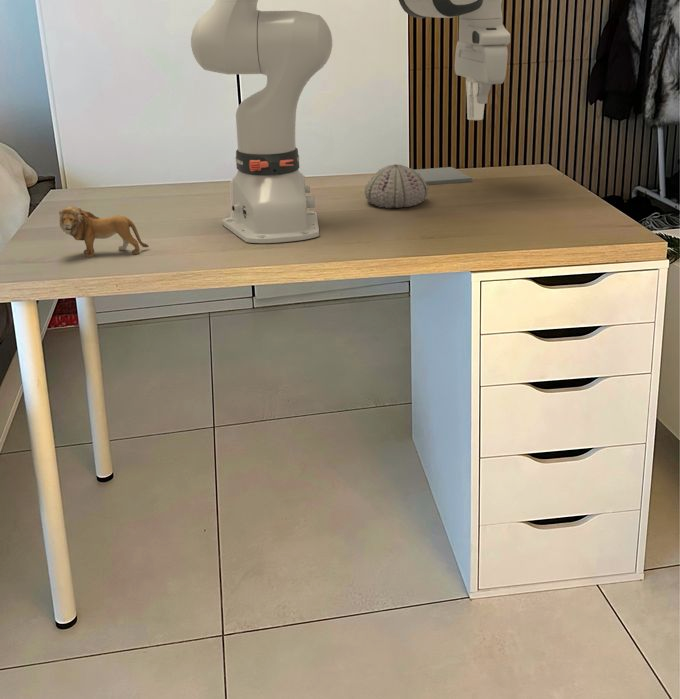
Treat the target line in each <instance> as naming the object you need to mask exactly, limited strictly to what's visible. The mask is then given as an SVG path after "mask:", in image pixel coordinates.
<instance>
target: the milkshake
mask: <svg viewBox="0 0 680 699" xmlns="http://www.w3.org/2000/svg"><path fill="white" fill-rule="evenodd" d="M465 87H466V88H465V90H466V114H467V115H466V116H467V117H466V119H467V120H469V121H482V120H484V113H485V112H484V111H485V104H480V103H478V102H477V95H479V90H480V87H479V81H476V80H474V79H473V78H472V77H470V76H469V77H468V78H467V79H466V78H465Z"/></svg>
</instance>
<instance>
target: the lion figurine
mask: <svg viewBox="0 0 680 699" xmlns="http://www.w3.org/2000/svg"><path fill="white" fill-rule="evenodd" d="M58 214H59V227H60V229H61V231H62V232H63V233H65V234H67V235H70V236H71V237H73V239H74V240H76V241H84V244H85V246H86V249H84V250H83V253H84V254H85V257H86V258H92V257H94V256H95V249H94V242H95V240H96V239H97V240H99V239H101V240H102V239H103V240H104V239H109V238H111V237H112V236H114V235H116V234H117V235H118V236H119V237H120V238H121V239H122V242H123V244H122V245H121V246H118V251H125V250H126V249H127V248H128V246H129V244H131V246H133V247H134V249H133V250H132V249H131V253H132V254H133V255H138V254H140V252H141V250H140V247H142V248H149V247H150V246H149V245H148V244H146V243H144V242H143V241H142V240H141V237H140V235H139V231H138V229H137V227H136V226H135V224H134V222H133V221H132V220H131V219H130V218H129V217H127V216H125V215H120V214H119V215H115V216H111V217H103V218H101V217H98V216H96V215H94V214H93V213H92V212H90V211H86V210H82V208H81V207H80V208H79V207H75V206H66V207H64V208H63V209H61V210H60V211H59V212H58ZM130 228H131V229H132V231H133V233H134V236H135V237H133V235H132V234H131V230H130ZM135 238H136V239H135ZM139 245H140V246H139Z"/></svg>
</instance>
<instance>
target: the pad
mask: <svg viewBox="0 0 680 699" xmlns="http://www.w3.org/2000/svg"><path fill="white" fill-rule="evenodd" d="M413 170H414V171H416V172H417V173H418V174H420V176H421V177H422V178H423V180H424V181H425V182H426V185H427V186H431V185H433V186H434V185H445V184H458V183H459V184H461V183H471V182H473V177H471V176H469V175H468V174H466V173H463V172H462V171H460V170H458V169H456V168H455V167H454V166H453V167H452V166H448V167H447V166H446V167H433V168H431V167H430V168H420V169H417V168H416V169H413ZM426 171H429V172H426Z"/></svg>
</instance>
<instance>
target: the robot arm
mask: <svg viewBox="0 0 680 699" xmlns="http://www.w3.org/2000/svg"><path fill="white" fill-rule="evenodd" d="M258 1H259V0H215V1H214V3H213V5H212V6H211V7H209V9H208V10H207V11H206V12H205V13H204V14H203V15H201V17H199V19H198V20H197V21H196V22H195V24H194V25H193V29H192V31H191V38H190V47H191V51H192V55H193V56H194V59H195V61H196V62H197V63H198V65H199V66H200V67H201V68H202V69H203V70H205V71H208V72H213V73H217V74H223V75H263V76H264V75H265V76H266V85H265V87H264V88H262V89H261V90H258V91H257V92H255V93H253V94H252V95H249V96H248V97H246V98H245V99H243V100H242V101H241V102H240V104H238V106H237V109H236V112H235V125H236V138H237V141H236V142H237V149H236V150H235V163H236V165H235V166H236V169H237V172H236V175H235V176H234V177H233V178H232V179H231V180H230V182H229V195H230V196H229V198H230V200H229V201H230V203H229V204H230V216H229V217H227V216H226V217H225V218H223V219H222V225H223V226H224V227H225V228H226V229H228V230H229V231H230V232H231V233H232V234H235V235H236V236H237V237H239V238H240V239H241V240H242V241H243V242H246V243H252V244H273V243H274V244H275V243H276V244H277V243H287V242H288V243H289V242H296V241H297V242H298V241H304V240H309V239H310V240H311V239H314V238H317V237H319V236H320V228H319V219H318V214H317V213H318V212H316V211H313V210H308V209H314V208H315V206H316V202H315V201H316V200H315V196H314V195H306V194H310V193H311V187H310V185H306V176H305V175H304V174H303V173H302V172H301V171H300V170H299V169H300V155H299V150H298V148H297V144H296V119H297V118H296V117H297V108H298V107H297V106H298V103H299V100H300V97H301V94H302V92H303V90H304V88H305V86H307V84H308V82H309V81H310V79H311V78H313V77H314V75H315V74H317V72H319V71H320V70H321V69H323V68H324V66H325V65H326V64H327V62H328V61H329V59H330V56H331V54H332V49H333V36H332V31H331V29H330V27H329V25H328V23H327V21H326V20H325V19H324V18H323V17H322V16H321V15H320V14H315V13H310V12H307V11H306V12H305V11H302V10H301V11H300V10H258V8H257V6H258ZM502 1H503V0H398V2H399V5H400V6H401V9H402V10H403V11H404V12H405V14H407V15H409V16H410V17H412V18H416V19H425V18H436V19H437V18H438V19H442V18H443V19H452V18H455V17H458V16H459V17H458V18H459V19H458V20H459V21H458V40H457V42H456V47H455V55H454V56H455V57H454V73H455V75H456V76H460V77H463V78H465V80H466V79H467V78H468V77H469V76H470V77H472V78H473V79H474V80H476V81H479V87H480V90H479V95H477V102H478V103H480V104H488V102H489V101H488V98H489V96H488V95H489V93H490V91H491V88H492V85H502V84H503V83H504V82H505V79H506V76H507V68H508V55H509V53H508V52H509V51H508V47H507V46H508V45H510V43H511V33H510V32H509V31H508V30H507V29H506V28H505V27H506V26H505V25H504V24H503V19H504V18H503V16H504V15H503V11H502Z"/></svg>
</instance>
